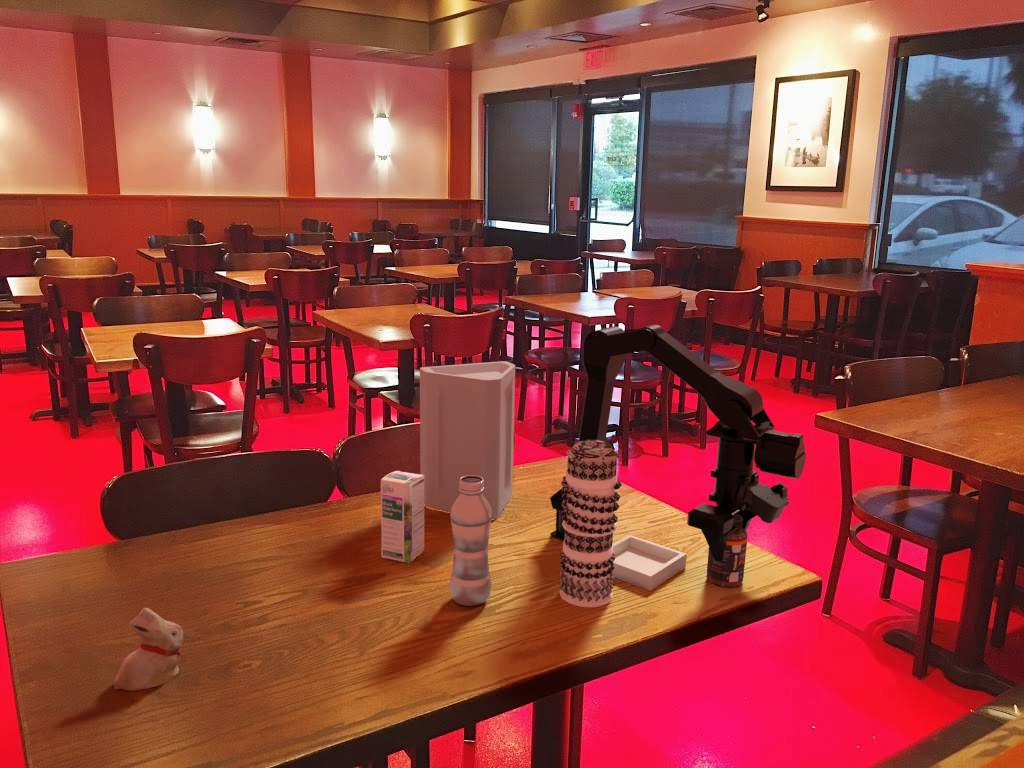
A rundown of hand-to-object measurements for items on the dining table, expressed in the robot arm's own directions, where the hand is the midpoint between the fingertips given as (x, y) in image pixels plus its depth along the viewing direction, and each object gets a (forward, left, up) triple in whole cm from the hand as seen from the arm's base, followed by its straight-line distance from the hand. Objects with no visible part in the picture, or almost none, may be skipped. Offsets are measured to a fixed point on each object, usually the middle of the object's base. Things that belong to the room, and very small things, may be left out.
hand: (726, 554), depth 135 cm
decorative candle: (-14, -20, -5) cm, 25 cm away
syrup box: (-46, -30, -5) cm, 55 cm away
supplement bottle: (0, 0, -5) cm, 5 cm away
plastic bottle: (-26, -34, -5) cm, 43 cm away
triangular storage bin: (-52, -5, -5) cm, 52 cm away
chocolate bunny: (-42, -77, -5) cm, 88 cm away
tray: (-13, -6, -4) cm, 15 cm away
